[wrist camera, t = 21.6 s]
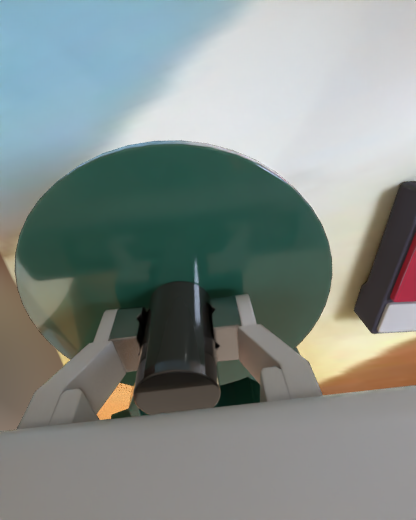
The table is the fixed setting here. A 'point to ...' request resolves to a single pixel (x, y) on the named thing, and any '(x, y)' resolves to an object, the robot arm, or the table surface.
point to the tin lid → (172, 260)
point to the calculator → (393, 271)
